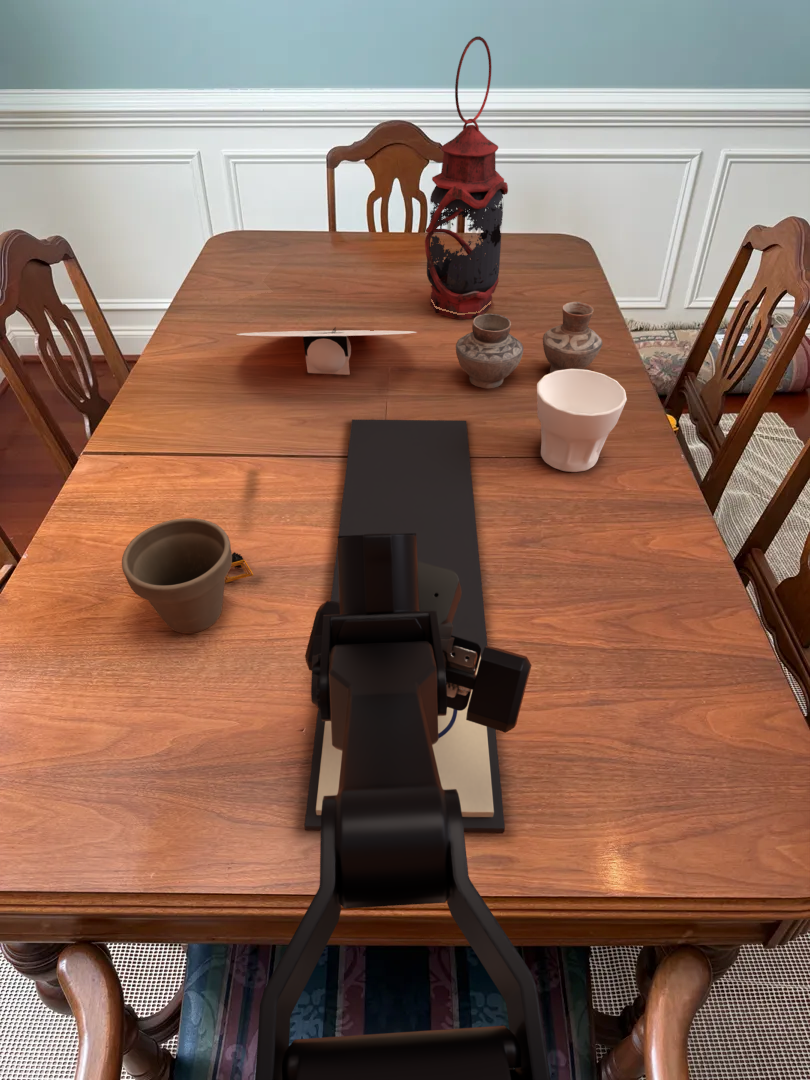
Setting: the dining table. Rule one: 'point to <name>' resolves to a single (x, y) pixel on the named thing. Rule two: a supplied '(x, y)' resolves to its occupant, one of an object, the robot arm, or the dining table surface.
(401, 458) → the long black board
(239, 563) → the golden diamond frame ornament
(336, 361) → the cake stand
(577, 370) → the cup
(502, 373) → the pottery
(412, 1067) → the robot arm
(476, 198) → the lantern
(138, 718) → the dining table surface
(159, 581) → the flower pot
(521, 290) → the dining table surface
